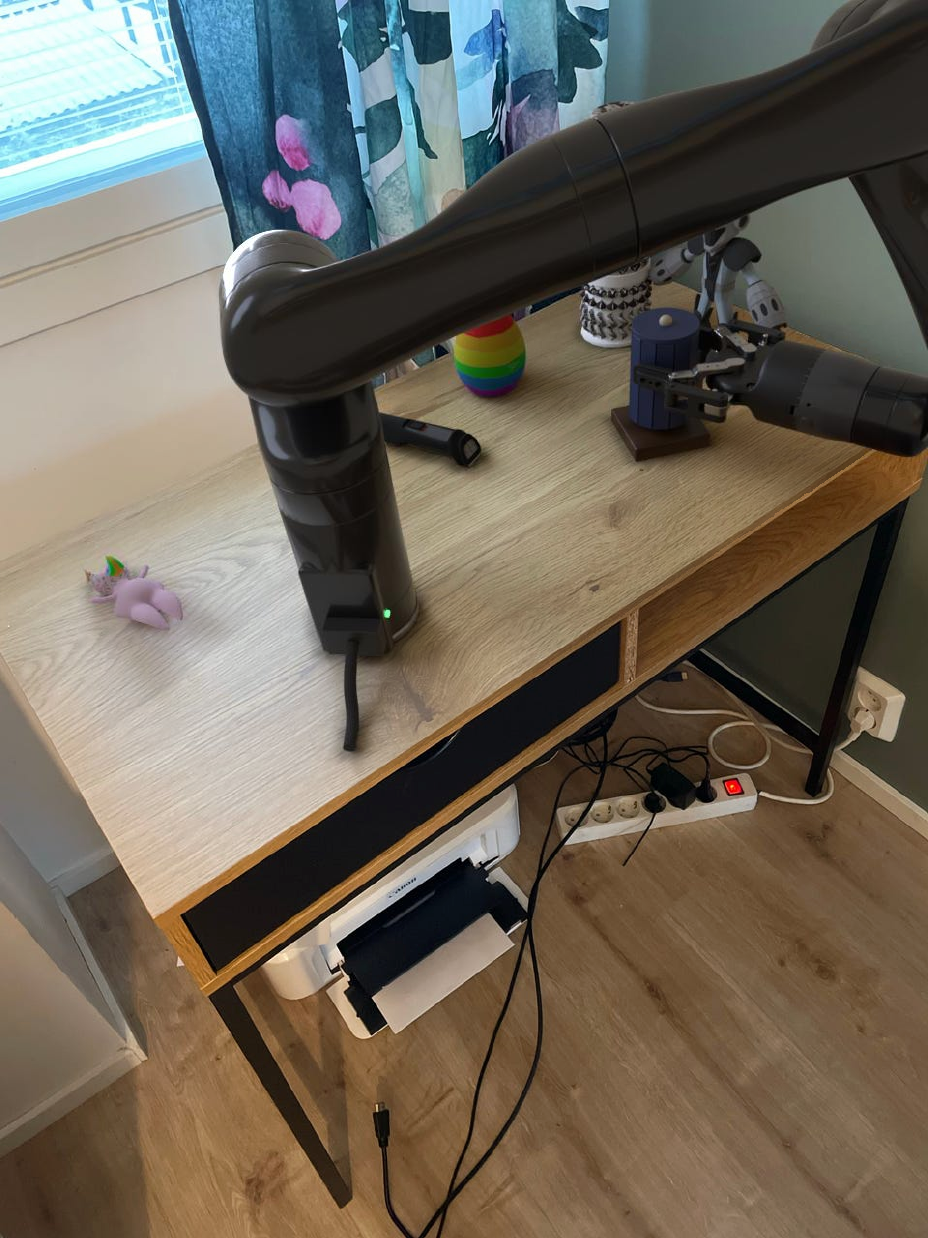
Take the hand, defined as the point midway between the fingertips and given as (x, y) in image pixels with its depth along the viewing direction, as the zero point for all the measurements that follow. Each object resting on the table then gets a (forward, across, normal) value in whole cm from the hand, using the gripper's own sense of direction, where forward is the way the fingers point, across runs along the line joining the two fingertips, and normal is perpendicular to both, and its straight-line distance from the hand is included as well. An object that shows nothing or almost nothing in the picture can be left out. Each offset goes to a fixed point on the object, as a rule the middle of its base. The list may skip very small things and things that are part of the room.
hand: (656, 351), depth 89 cm
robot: (+1, -15, +10) cm, 18 cm away
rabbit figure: (+28, +48, +9) cm, 56 cm away
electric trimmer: (+21, +14, +9) cm, 27 cm away
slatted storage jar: (-1, 0, +7) cm, 7 cm away
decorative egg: (+21, 0, +9) cm, 23 cm away
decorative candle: (+14, -17, +9) cm, 24 cm away
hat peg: (-1, 0, +9) cm, 9 cm away
